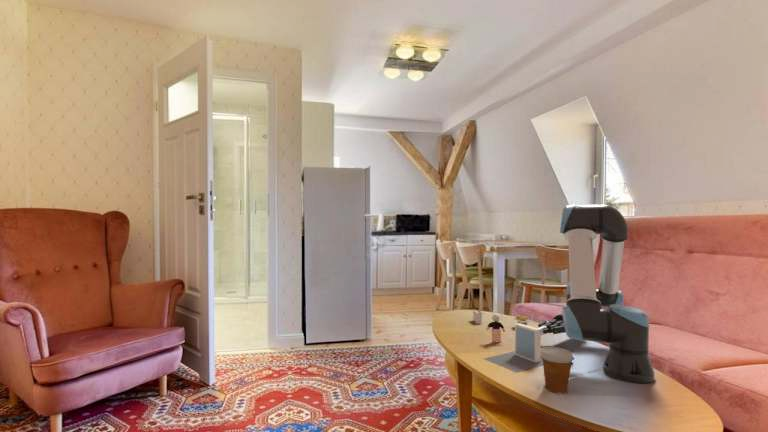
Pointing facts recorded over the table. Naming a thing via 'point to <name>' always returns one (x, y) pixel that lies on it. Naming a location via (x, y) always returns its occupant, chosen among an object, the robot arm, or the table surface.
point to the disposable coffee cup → (556, 368)
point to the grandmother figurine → (496, 328)
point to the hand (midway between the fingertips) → (537, 332)
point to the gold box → (521, 319)
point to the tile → (528, 342)
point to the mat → (514, 362)
